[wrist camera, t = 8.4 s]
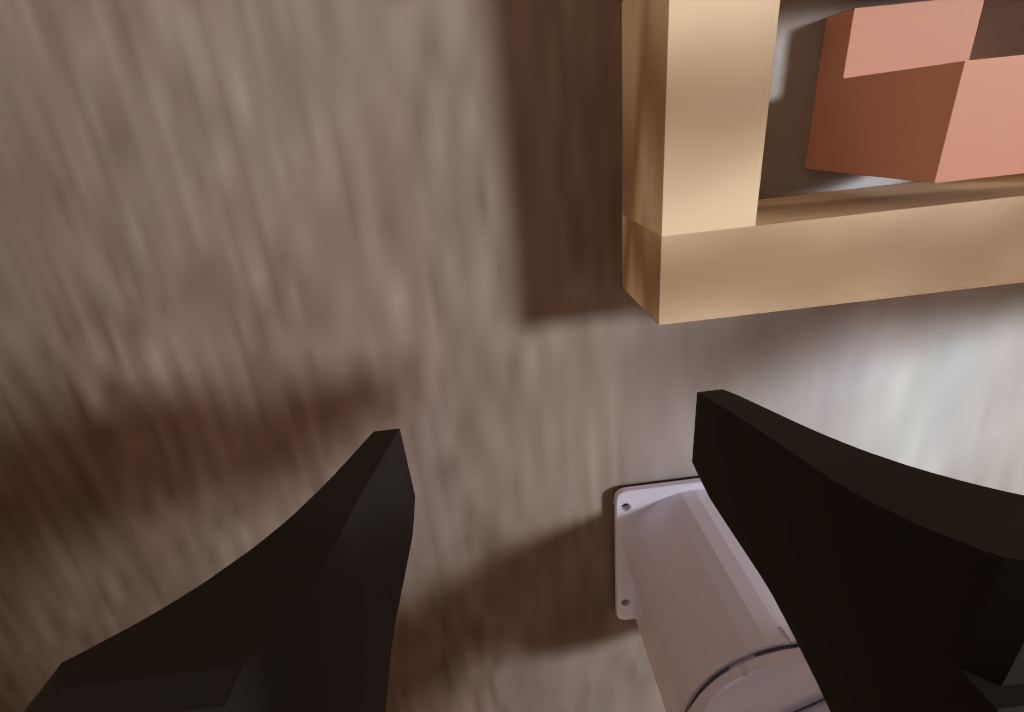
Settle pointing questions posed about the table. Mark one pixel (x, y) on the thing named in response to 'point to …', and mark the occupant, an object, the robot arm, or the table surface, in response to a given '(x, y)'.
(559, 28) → the table surface
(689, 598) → the robot arm
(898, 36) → the terracotta step block
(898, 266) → the wooden tray frame
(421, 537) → the table surface
